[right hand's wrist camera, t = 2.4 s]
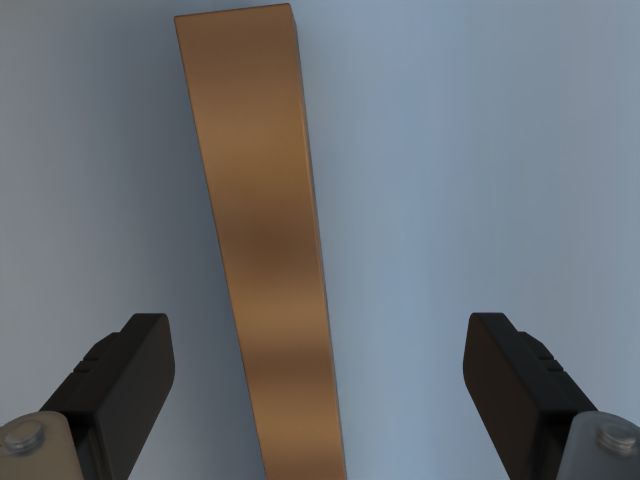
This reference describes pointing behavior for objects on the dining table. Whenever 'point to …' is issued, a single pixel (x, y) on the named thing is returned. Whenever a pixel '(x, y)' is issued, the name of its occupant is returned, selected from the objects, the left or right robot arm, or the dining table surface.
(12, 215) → the dining table surface
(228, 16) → the post
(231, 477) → the dining table surface
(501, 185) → the dining table surface
